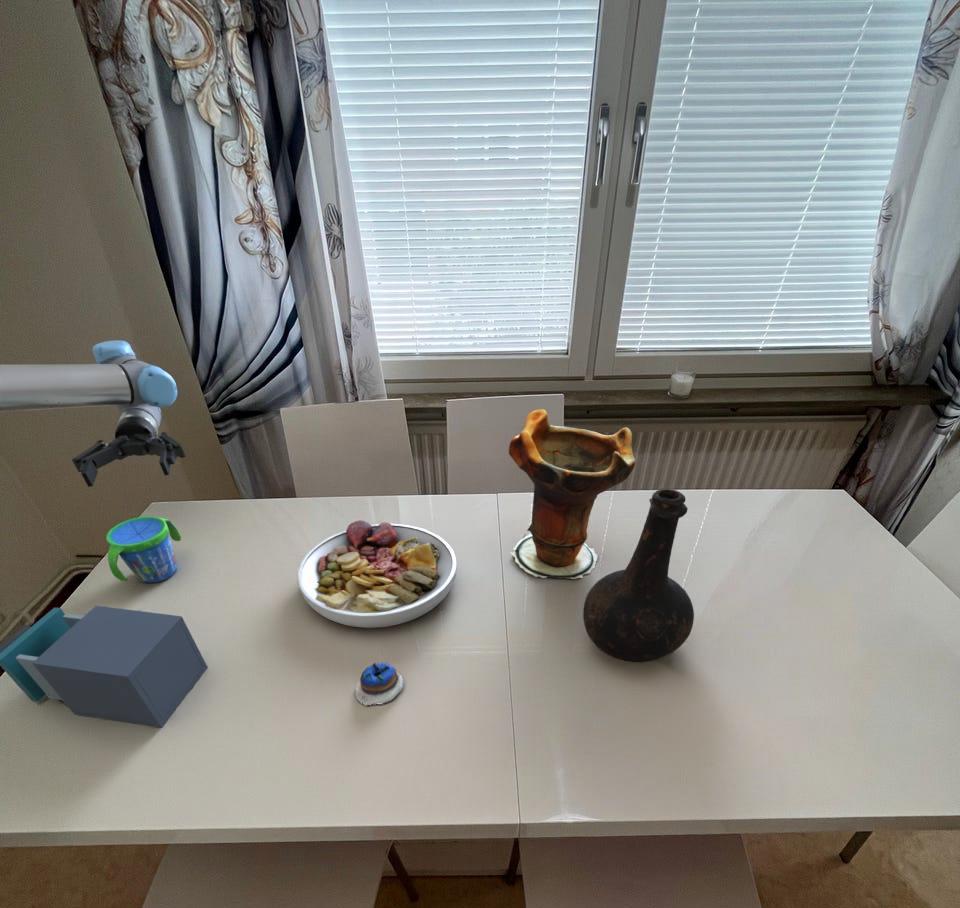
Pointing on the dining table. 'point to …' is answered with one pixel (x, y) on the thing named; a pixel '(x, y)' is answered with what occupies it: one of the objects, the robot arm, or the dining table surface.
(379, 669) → the dessert
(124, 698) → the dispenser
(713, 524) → the dining table surface
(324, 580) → the bowl
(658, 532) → the glass bottle
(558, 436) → the decorative vase
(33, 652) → the drawer
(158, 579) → the snack cup
